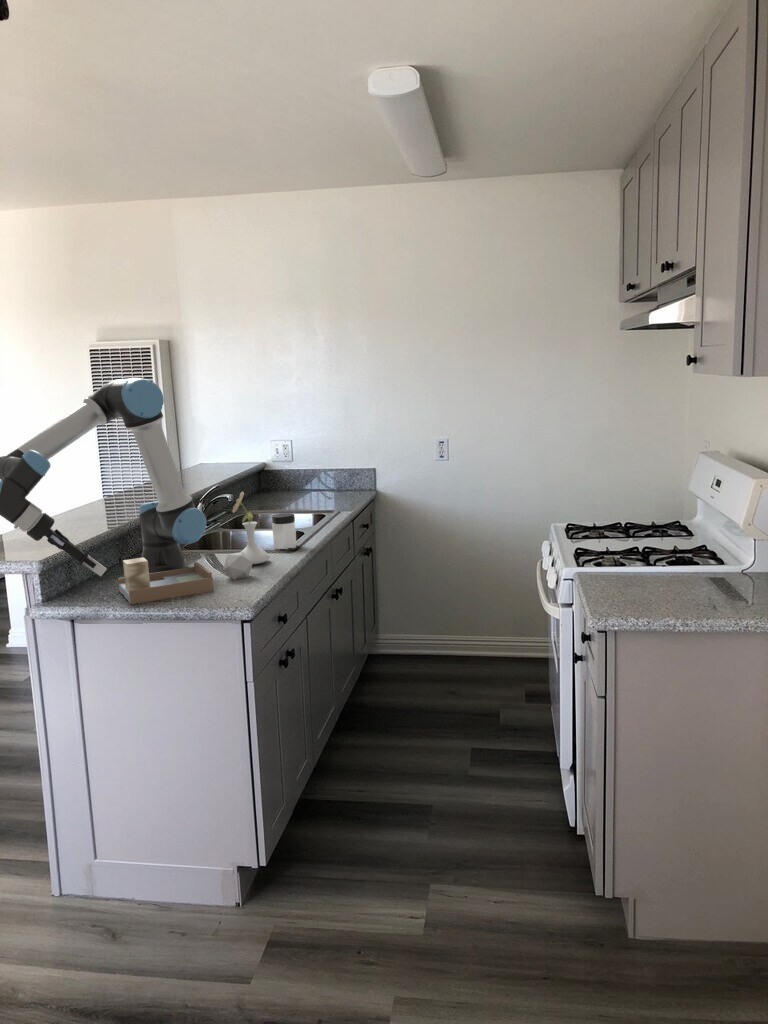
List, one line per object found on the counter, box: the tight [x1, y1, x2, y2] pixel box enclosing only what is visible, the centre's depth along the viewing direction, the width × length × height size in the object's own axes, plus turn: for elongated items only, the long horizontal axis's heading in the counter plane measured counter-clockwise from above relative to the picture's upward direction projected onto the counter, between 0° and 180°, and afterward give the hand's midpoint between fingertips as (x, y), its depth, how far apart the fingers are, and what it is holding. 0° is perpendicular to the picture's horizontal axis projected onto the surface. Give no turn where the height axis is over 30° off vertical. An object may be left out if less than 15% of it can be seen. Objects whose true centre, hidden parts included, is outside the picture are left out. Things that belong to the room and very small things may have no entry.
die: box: [222, 551, 253, 581], centre depth 257 cm, size 8×9×10 cm
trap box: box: [118, 561, 214, 605], centre depth 245 cm, size 24×18×6 cm
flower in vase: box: [231, 491, 270, 566], centre depth 274 cm, size 13×11×25 cm
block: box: [122, 557, 150, 590], centre depth 241 cm, size 6×6×8 cm
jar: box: [271, 512, 297, 550], centre depth 299 cm, size 9×8×12 cm
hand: (103, 572), depth 237 cm, fingers closed
